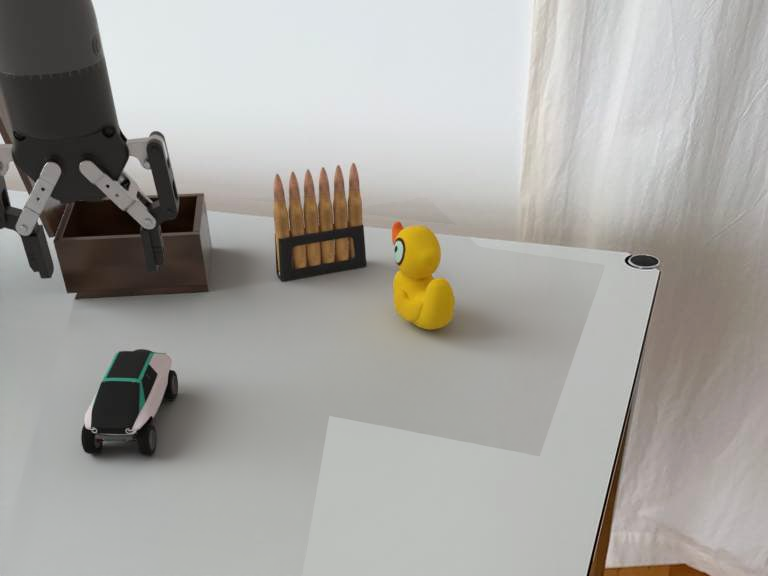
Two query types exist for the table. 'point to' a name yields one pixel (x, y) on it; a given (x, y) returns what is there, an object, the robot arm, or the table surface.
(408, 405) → the table surface
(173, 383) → the toy car
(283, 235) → the ammunition clip
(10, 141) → the case lid
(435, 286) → the duckling
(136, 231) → the case
